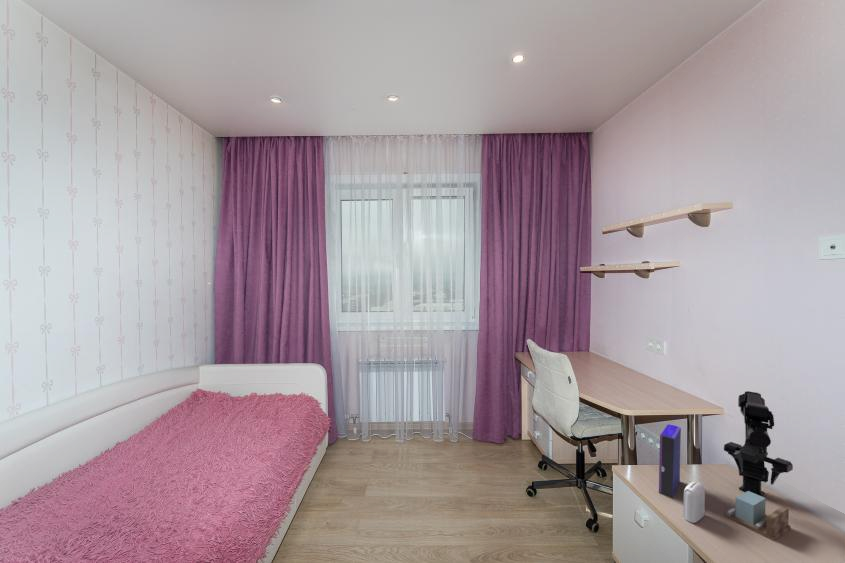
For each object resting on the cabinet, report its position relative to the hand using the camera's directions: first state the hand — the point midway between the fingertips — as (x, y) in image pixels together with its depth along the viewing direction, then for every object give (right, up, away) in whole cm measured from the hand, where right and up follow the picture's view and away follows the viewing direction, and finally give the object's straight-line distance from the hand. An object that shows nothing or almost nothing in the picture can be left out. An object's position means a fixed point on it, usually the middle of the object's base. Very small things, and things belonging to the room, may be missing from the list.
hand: (756, 478), depth 135 cm
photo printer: (-29, -11, -6) cm, 32 cm away
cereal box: (-24, -12, +14) cm, 30 cm away
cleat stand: (-8, -12, -8) cm, 16 cm away
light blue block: (-8, -11, -6) cm, 15 cm away
